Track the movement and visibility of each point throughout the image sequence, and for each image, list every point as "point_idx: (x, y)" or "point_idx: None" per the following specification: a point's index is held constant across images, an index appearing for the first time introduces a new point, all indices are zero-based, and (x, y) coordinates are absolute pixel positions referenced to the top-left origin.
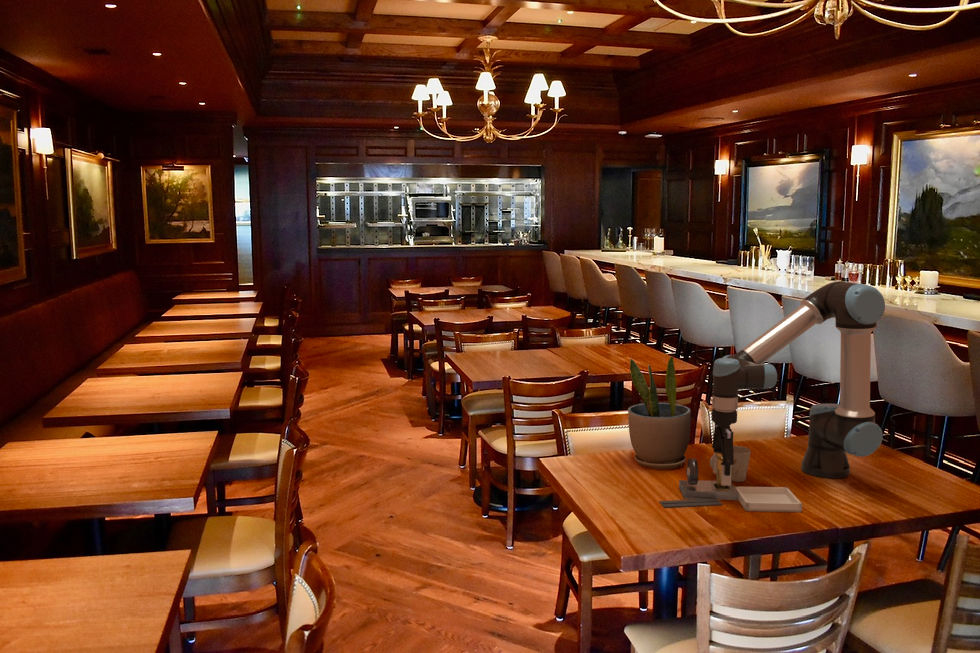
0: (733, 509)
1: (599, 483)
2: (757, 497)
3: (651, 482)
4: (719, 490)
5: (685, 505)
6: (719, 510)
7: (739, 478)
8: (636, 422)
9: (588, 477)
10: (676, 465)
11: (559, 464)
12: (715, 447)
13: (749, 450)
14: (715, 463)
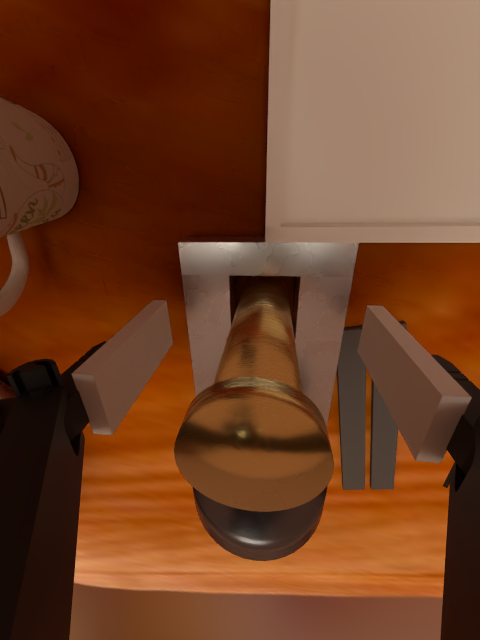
0: (464, 288)
1: (200, 550)
2: (350, 114)
3: (170, 467)
4: (323, 331)
5: (394, 441)
6: (458, 346)
7: (65, 159)
8: None
9: (163, 556)
10: (10, 396)
11: (93, 574)
12: (80, 488)
13: None
14: (147, 370)
